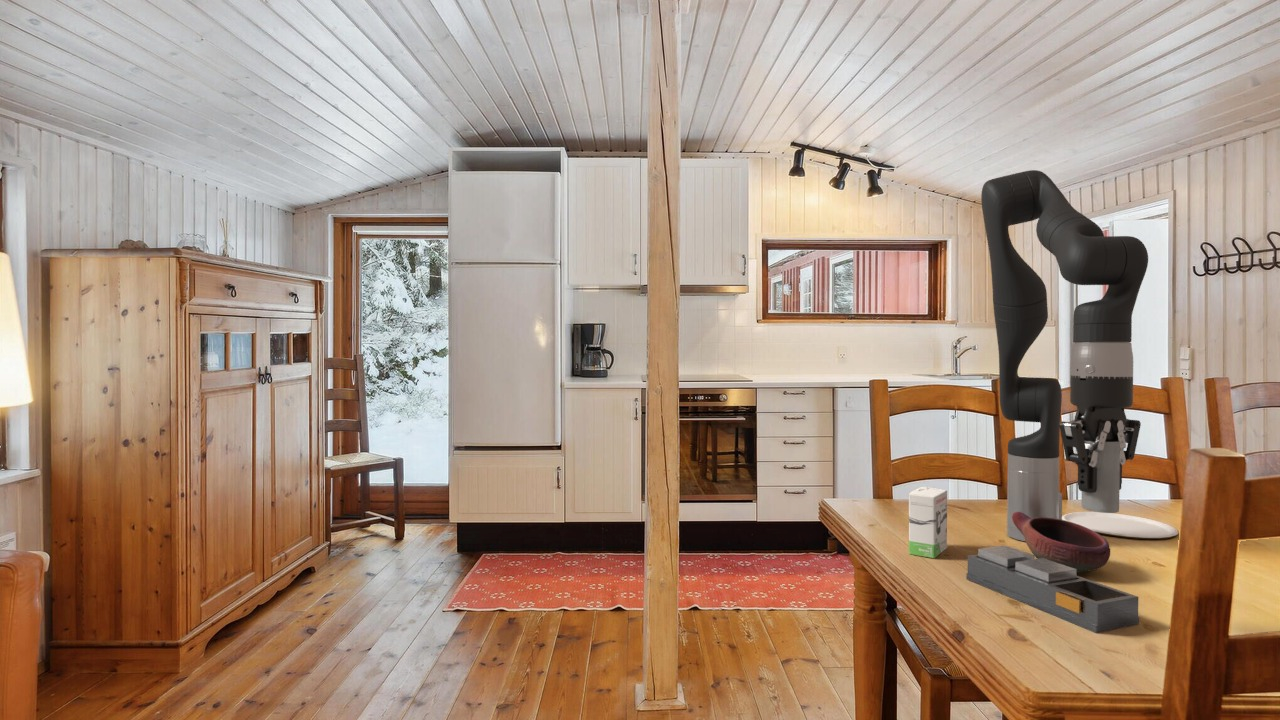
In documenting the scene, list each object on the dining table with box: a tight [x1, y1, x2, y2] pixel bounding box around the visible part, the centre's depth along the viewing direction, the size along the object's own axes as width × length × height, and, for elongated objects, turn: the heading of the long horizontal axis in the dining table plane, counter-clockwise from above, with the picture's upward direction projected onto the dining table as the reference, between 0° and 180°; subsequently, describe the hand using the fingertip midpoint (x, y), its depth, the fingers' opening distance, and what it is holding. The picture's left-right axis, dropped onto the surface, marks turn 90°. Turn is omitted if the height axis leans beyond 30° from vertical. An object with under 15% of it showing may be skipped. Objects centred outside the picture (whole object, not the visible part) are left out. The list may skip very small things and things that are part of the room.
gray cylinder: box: [1081, 440, 1120, 514], centre depth 97 cm, size 4×4×10 cm
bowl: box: [1012, 512, 1111, 573], centre depth 120 cm, size 16×13×8 cm
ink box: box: [908, 486, 948, 559], centre depth 129 cm, size 9×5×12 cm, turn 140°
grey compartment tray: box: [965, 544, 1140, 634], centre depth 104 cm, size 23×9×5 cm, turn 19°
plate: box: [1062, 511, 1179, 540], centre depth 146 cm, size 21×21×1 cm
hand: (1099, 490), depth 97 cm, fingers closed on gray cylinder, 4 cm apart
